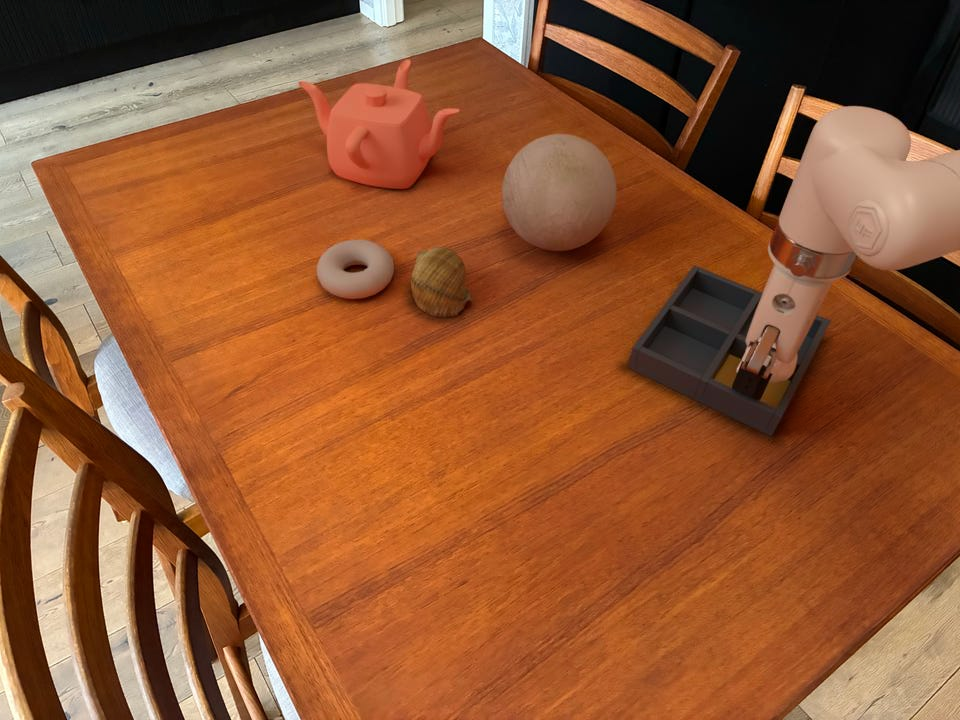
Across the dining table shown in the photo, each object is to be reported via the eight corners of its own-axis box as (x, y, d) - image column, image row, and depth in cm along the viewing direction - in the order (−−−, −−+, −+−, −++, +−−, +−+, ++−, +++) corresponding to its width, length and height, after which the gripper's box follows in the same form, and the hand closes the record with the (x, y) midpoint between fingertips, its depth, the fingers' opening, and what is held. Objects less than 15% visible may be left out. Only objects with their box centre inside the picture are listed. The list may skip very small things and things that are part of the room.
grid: (820, 341, 89) (831, 320, 86) (771, 437, 79) (781, 417, 76) (687, 285, 95) (694, 264, 92) (627, 367, 85) (632, 347, 83)
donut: (354, 245, 100) (302, 283, 94) (351, 224, 98) (297, 262, 92) (410, 273, 96) (359, 315, 91) (409, 253, 94) (356, 295, 88)
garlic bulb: (717, 376, 81) (730, 342, 77) (754, 353, 83) (768, 320, 79) (755, 407, 78) (770, 374, 74) (792, 383, 80) (808, 350, 76)
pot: (418, 125, 121) (414, 51, 111) (461, 180, 110) (460, 104, 101) (310, 150, 115) (296, 75, 106) (344, 211, 105) (331, 133, 96)
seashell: (464, 328, 95) (497, 277, 93) (440, 331, 89) (475, 276, 86) (410, 286, 98) (440, 236, 95) (383, 285, 91) (415, 231, 89)
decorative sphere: (536, 287, 94) (544, 191, 83) (481, 224, 103) (482, 129, 92) (629, 253, 99) (649, 157, 88) (569, 195, 108) (581, 101, 97)
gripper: (827, 314, 61) (763, 440, 74) (880, 211, 70) (816, 339, 84) (740, 280, 63) (694, 407, 77) (803, 185, 73) (753, 313, 86)
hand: (758, 371), depth 80 cm, fingers closed on garlic bulb, 6 cm apart
